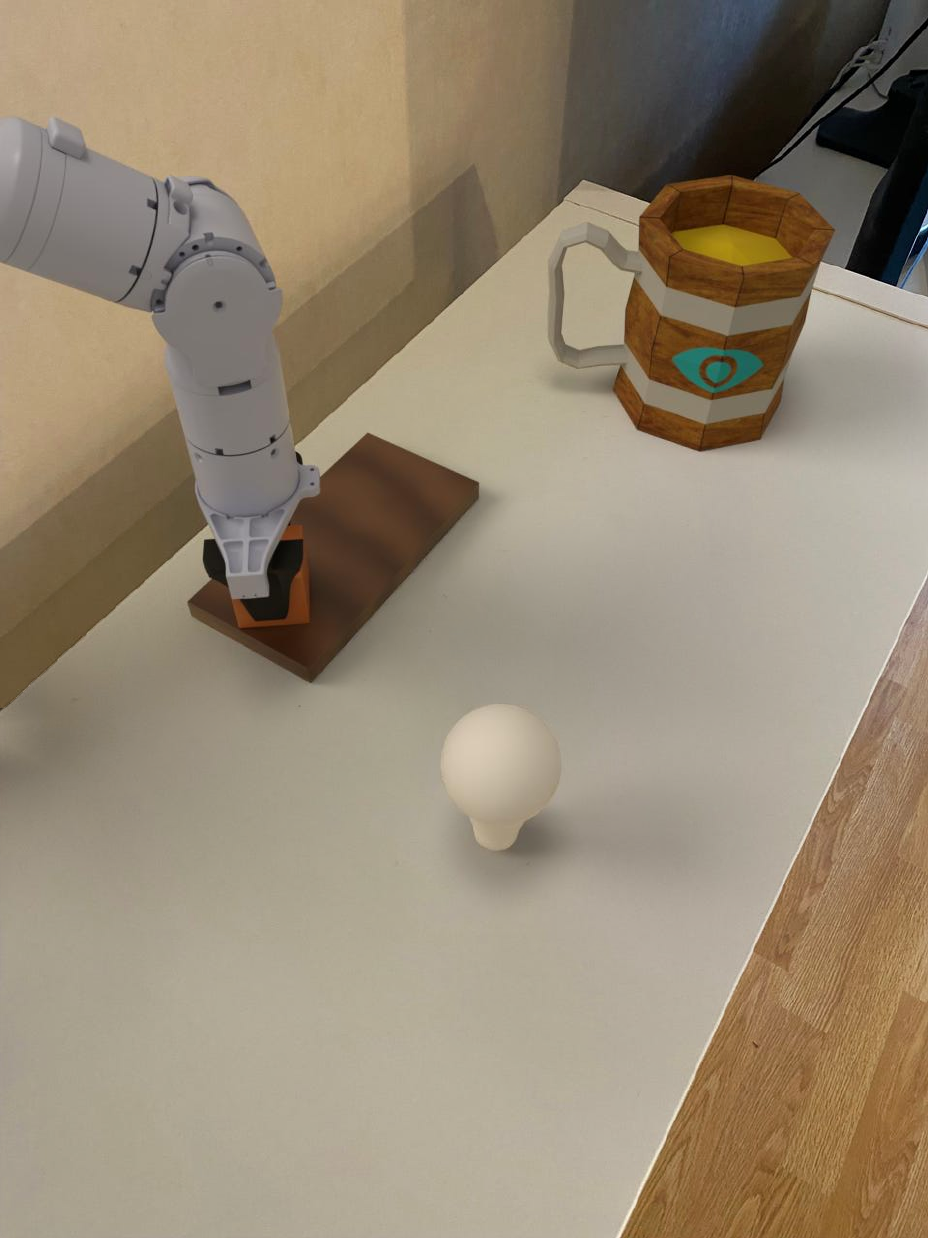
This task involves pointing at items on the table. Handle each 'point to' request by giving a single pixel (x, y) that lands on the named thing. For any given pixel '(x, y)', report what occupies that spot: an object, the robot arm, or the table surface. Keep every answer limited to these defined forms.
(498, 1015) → the table surface
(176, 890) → the table surface
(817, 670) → the table surface
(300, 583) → the block
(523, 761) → the lightbulb
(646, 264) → the mug
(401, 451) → the board
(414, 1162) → the table surface
